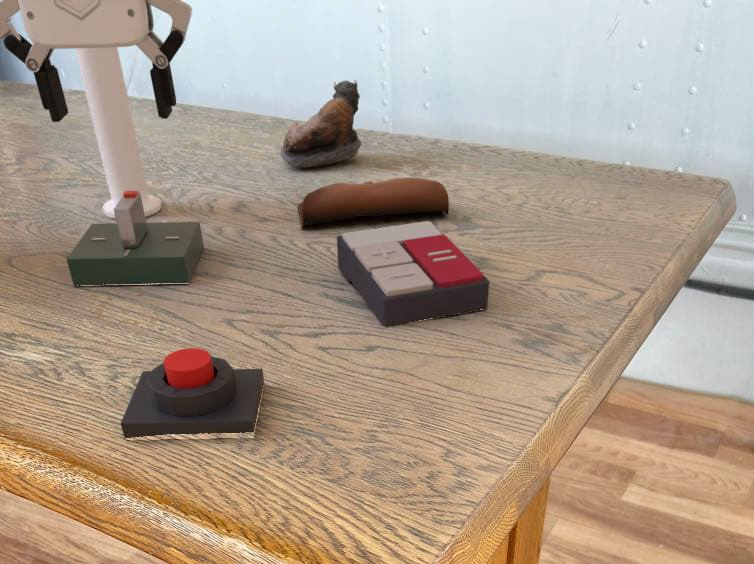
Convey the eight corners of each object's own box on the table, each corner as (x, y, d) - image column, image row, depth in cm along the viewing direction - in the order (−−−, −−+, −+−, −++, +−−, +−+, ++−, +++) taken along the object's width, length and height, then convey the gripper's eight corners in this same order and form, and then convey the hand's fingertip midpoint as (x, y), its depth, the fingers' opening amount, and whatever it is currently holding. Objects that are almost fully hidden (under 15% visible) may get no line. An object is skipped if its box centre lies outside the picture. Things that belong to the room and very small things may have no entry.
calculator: (383, 292, 74) (335, 228, 84) (384, 334, 77) (336, 267, 87) (492, 274, 77) (432, 214, 87) (488, 315, 80) (431, 252, 90)
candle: (125, 197, 104) (71, -38, 88) (172, 203, 103) (126, -36, 86) (92, 216, 99) (28, -30, 83) (141, 222, 98) (85, -28, 81)
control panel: (74, 287, 84) (65, 257, 82) (98, 250, 91) (91, 222, 89) (189, 285, 84) (183, 255, 82) (204, 248, 92) (199, 220, 89)
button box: (125, 441, 62) (114, 403, 60) (147, 388, 68) (137, 351, 66) (254, 439, 62) (248, 400, 60) (264, 386, 68) (259, 348, 66)
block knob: (138, 247, 84) (128, 206, 81) (122, 248, 84) (112, 206, 81) (148, 230, 88) (139, 189, 85) (133, 230, 88) (124, 190, 85)
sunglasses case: (432, 192, 104) (440, 152, 97) (443, 237, 102) (452, 199, 95) (293, 204, 101) (292, 164, 95) (302, 250, 99) (302, 212, 92)
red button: (164, 391, 62) (159, 371, 61) (172, 368, 65) (168, 348, 63) (210, 390, 62) (207, 370, 61) (217, 367, 65) (214, 347, 64)
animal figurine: (292, 176, 111) (284, 95, 104) (274, 163, 115) (265, 84, 109) (370, 164, 115) (368, 84, 108) (350, 151, 119) (346, 74, 113)
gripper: (-74, -120, 60) (5, 130, 71) (160, -125, 60) (202, 124, 72) (-37, -123, 65) (30, 109, 77) (176, -128, 66) (212, 103, 77)
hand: (113, 116), depth 74 cm, fingers open, 9 cm apart
